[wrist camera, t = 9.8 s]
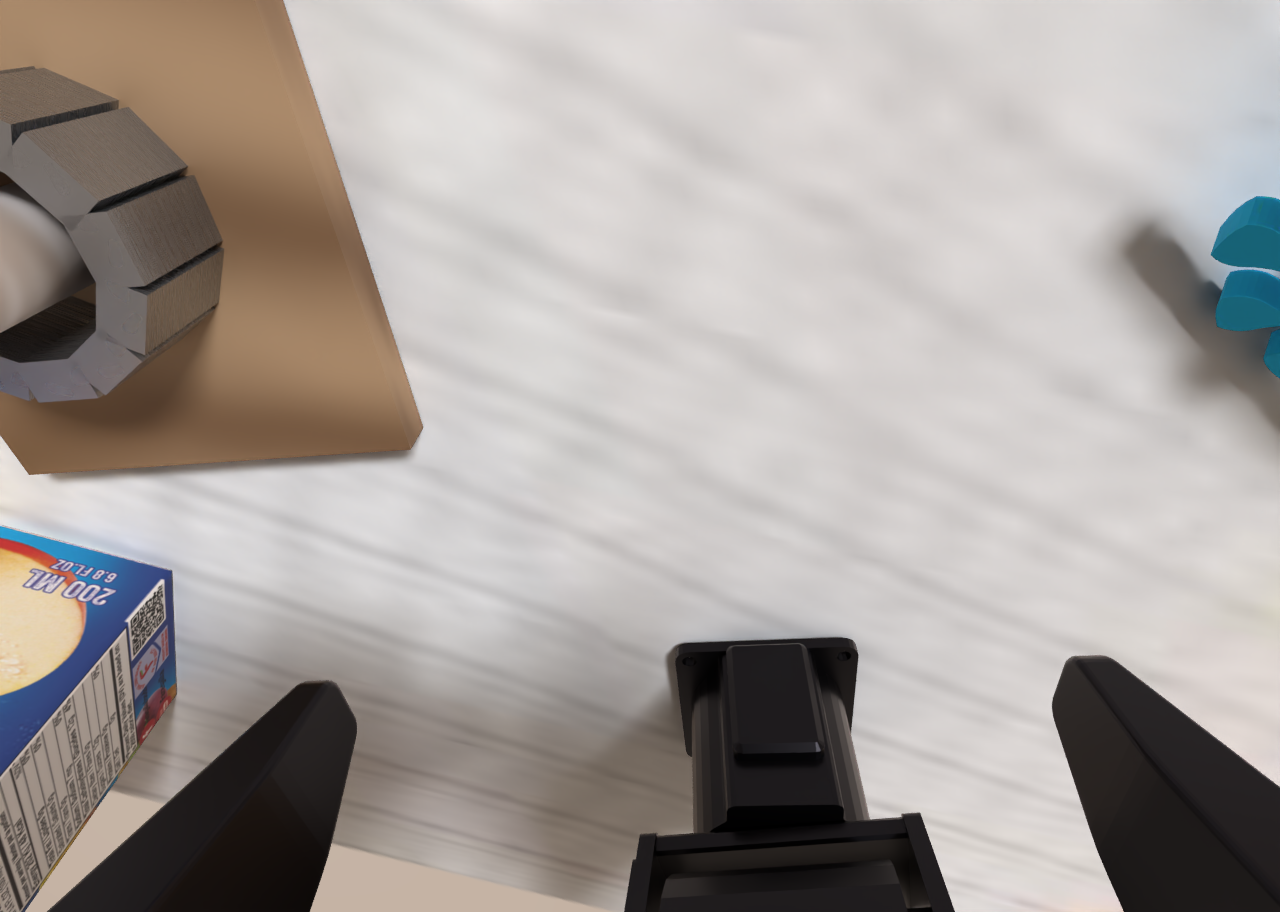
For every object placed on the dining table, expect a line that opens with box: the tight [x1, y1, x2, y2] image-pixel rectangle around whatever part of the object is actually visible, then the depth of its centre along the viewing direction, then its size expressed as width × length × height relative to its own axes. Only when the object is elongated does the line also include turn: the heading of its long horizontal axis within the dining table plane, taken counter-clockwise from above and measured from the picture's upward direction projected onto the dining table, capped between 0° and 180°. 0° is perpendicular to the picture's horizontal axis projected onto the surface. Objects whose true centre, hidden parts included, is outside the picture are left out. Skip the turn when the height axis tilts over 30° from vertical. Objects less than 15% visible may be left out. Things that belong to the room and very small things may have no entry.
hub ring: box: [0, 66, 224, 403], centre depth 16 cm, size 6×6×3 cm
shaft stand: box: [0, 0, 423, 475], centre depth 15 cm, size 14×12×6 cm
